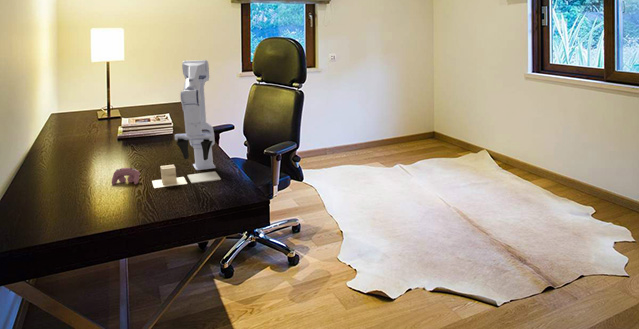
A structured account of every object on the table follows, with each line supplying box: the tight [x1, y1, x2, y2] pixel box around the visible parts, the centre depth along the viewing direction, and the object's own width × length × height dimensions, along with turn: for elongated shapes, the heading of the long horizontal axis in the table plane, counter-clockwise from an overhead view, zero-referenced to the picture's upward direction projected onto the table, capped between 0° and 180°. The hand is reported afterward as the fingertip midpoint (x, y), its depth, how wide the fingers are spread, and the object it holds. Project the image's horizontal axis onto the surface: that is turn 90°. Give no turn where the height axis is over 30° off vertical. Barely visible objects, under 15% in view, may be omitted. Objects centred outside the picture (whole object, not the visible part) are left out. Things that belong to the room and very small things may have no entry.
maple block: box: [159, 164, 178, 185], centre depth 190 cm, size 5×5×6 cm
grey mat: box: [186, 171, 222, 184], centre depth 195 cm, size 11×11×1 cm
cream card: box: [151, 176, 188, 189], centre depth 191 cm, size 10×12×1 cm
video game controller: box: [111, 167, 141, 186], centre depth 191 cm, size 10×5×7 cm, turn 92°
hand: (196, 159), depth 185 cm, fingers open, 7 cm apart
